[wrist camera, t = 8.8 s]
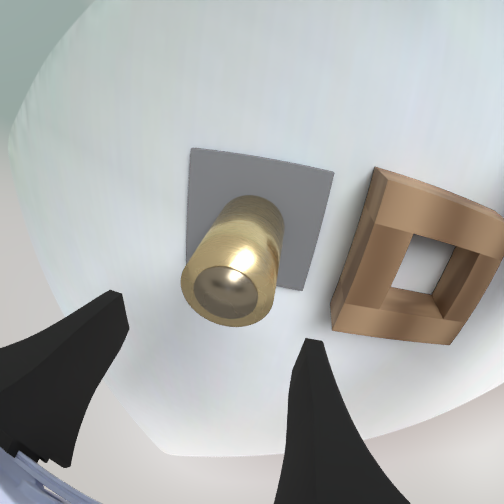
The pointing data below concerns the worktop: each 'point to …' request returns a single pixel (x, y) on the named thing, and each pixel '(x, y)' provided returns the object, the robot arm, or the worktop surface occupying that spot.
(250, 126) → the worktop surface
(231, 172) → the mat
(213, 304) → the end cover
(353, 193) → the worktop surface
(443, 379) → the worktop surface
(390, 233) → the housing
